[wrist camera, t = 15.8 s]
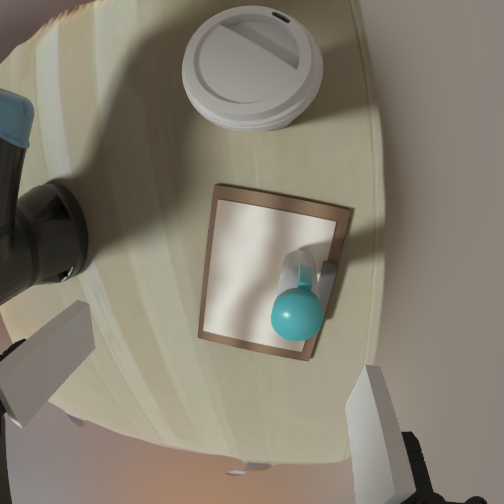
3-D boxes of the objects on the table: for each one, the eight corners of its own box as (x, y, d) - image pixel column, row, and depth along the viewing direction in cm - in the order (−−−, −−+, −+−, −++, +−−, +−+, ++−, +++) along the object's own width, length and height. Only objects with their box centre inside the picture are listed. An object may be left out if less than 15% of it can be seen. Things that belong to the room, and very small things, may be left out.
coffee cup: (330, 119, 29) (356, 83, 14) (253, 160, 31) (215, 157, 17) (285, 50, 27) (272, -23, 13) (211, 90, 29) (149, 46, 15)
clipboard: (199, 335, 39) (195, 341, 37) (215, 184, 33) (211, 185, 31) (308, 358, 37) (308, 366, 36) (349, 209, 31) (351, 212, 30)
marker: (278, 273, 34) (265, 333, 22) (287, 239, 32) (279, 285, 20) (310, 282, 33) (313, 346, 21) (321, 248, 32) (332, 299, 20)
